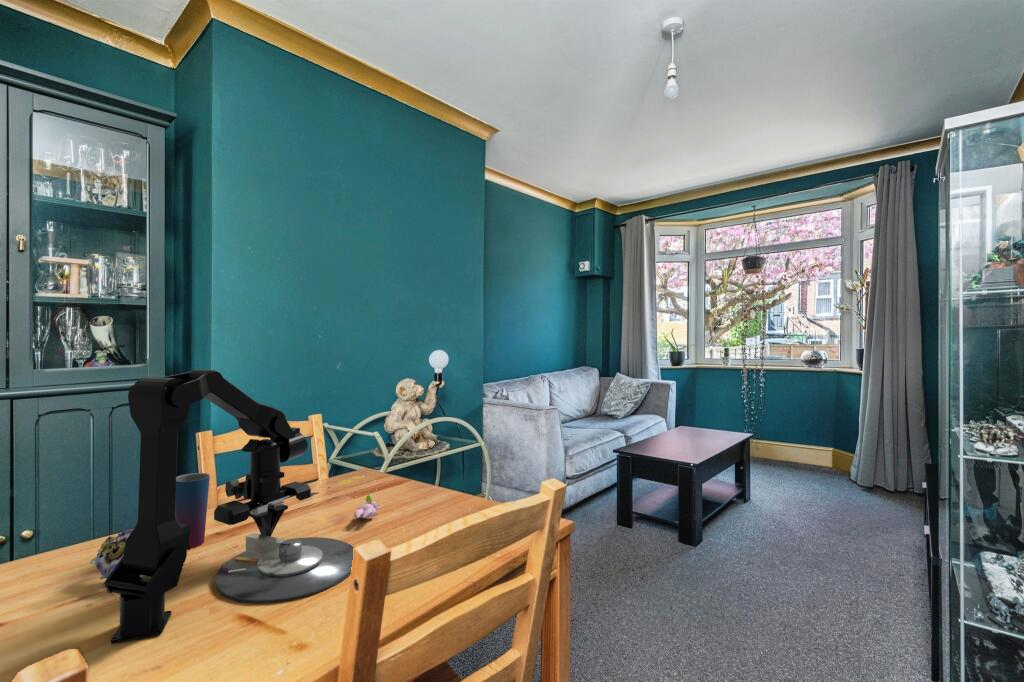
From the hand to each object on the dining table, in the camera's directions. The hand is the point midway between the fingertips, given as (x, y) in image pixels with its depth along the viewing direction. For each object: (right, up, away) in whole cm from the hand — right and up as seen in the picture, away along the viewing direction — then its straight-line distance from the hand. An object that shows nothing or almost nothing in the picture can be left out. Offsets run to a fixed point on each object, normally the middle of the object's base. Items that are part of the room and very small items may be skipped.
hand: (266, 541), depth 104 cm
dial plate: (+8, -3, -5) cm, 10 cm away
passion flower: (-21, -3, -9) cm, 23 cm away
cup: (-19, -3, +5) cm, 20 cm away
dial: (+5, -2, -4) cm, 7 cm away
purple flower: (+15, -4, +23) cm, 28 cm away
